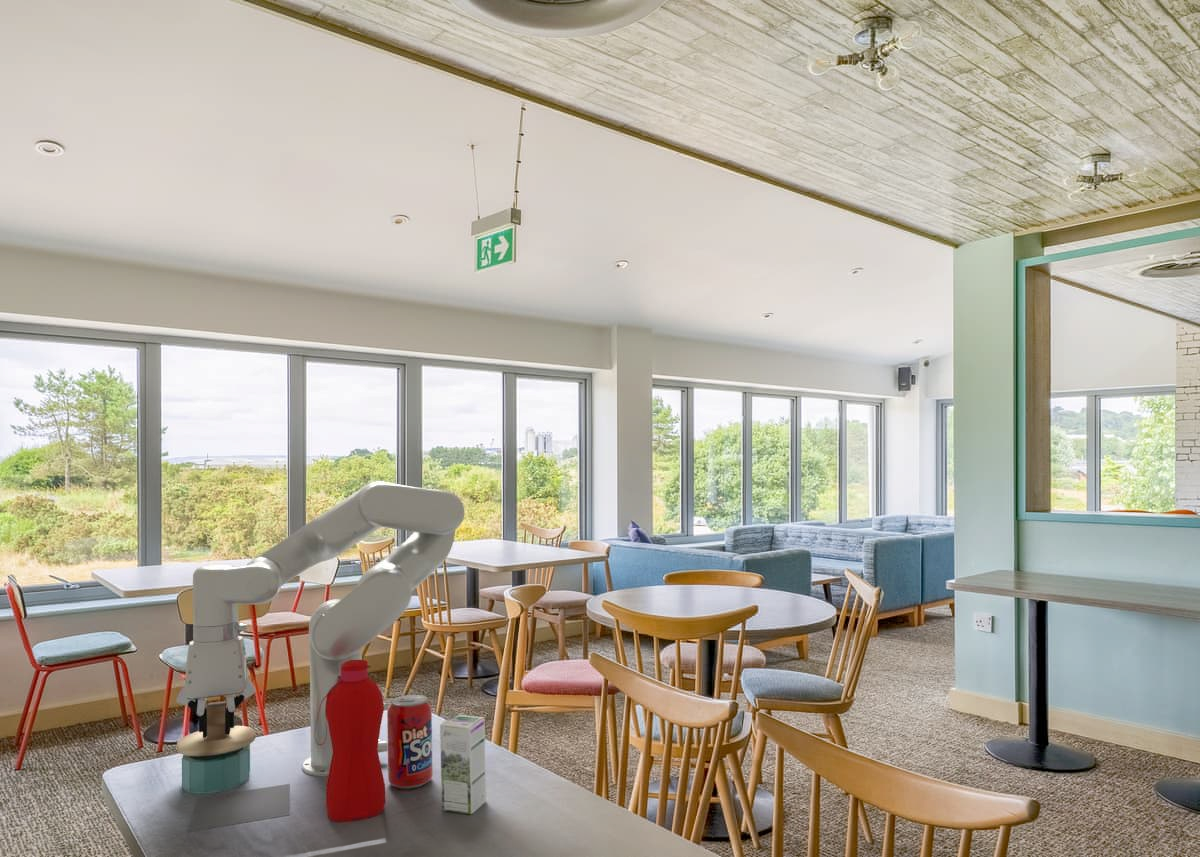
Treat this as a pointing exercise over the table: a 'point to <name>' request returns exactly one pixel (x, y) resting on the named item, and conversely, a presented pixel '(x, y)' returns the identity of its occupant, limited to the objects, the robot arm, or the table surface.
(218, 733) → the lid
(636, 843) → the table surface
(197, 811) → the mat
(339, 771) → the water bottle
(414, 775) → the soda can
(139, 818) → the table surface
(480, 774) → the syrup box
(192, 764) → the bowl
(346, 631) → the robot arm
